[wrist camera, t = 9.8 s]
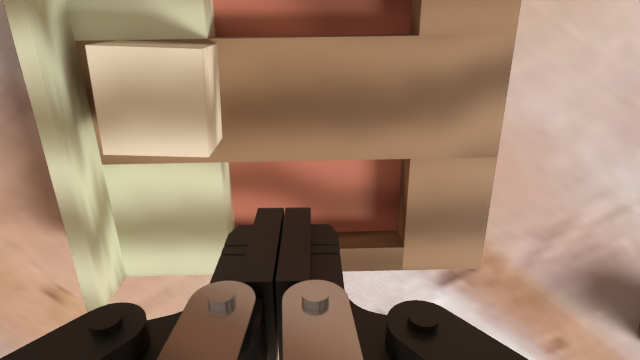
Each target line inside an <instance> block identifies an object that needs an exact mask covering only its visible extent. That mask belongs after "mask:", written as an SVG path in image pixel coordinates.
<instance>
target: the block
mask: <svg viewBox="0 0 640 360" xmlns="http://www.w3.org/2000/svg"><path fill="white" fill-rule="evenodd" d="M85 48H86V54H87V60H88V66H89V72H90V78H91V84H92V90H93V96H94V102H95V108H96V114H97V120H98V126H99V132H100V138H101V144H102V150H103V155H131V156H171V157H209V156H210V155H211V154H212V152H213V151H214V149H215V148H216V146H217V145H218V144H219V142H220V141H221V139H222V123H221V105H220V87H219V68H218V50H217V44H213V43H183V42H153V41H123V40H117V41H110V42H103V43H96V44H89V45H85Z"/></svg>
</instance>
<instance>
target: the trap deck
mask: <svg viewBox="0 0 640 360" xmlns="http://www.w3.org/2000/svg"><path fill="white" fill-rule="evenodd" d="M3 3H4V7H5V11H6V14H7V18H8V22H9V25H10V29H11V33H12V36H13V40H14V44H15V47H16V51H17V55H18V59H19V62H20V66H21V70H22V73H23V77H24V81H25V84H26V88H27V92H28V95H29V99H30V103H31V106H32V110H33V114H34V118H35V121H36V125H37V129H38V132H39V136H40V140H41V143H42V147H43V151H44V154H45V158H46V162H47V166H48V169H49V173H50V177H51V180H52V184H53V188H54V191H55V195H56V199H57V202H58V206H59V210H60V213H61V217H62V221H63V225H64V228H65V232H66V236H67V239H68V243H69V247H70V250H71V254H72V258H73V261H74V265H75V269H76V273H77V276H78V280H79V284H80V287H81V291H82V295H83V298H84V302H85V306H86V309H87V312H89V311H92V310H94V309H96V308H98V307H101V306H104V305H107V304H108V302H109V301H110V299H111V298H112V296H113V295H114V294H115V292H116V291H117V289H118V288H119V286H120V285H121V284H122V282H123V281H124V279H125V278H126V276H163V275H208V274H214V271H215V268H216V266H217V263H218V260H219V258H220V256H221V252H222V250H223V247H224V244H225V242H226V239H227V236H228V234H229V233H230V232H231V231H233V230H234V229H235V228H236V227H237V226H238V225H253V224H254V220H255V217H256V213H257V210H258V208H284V214H285V208H290V207H311V224H330V225H331V226H332V227H333V228H334V230H335V231H336V232H337V233H338V239H339V248H340V256H341V265H342V271H384V270H428V269H472V268H480V266H481V260H482V253H483V247H484V240H485V234H486V227H487V221H488V214H489V208H490V201H491V195H492V188H493V181H494V175H495V168H496V162H497V155H498V149H499V142H500V136H501V129H502V123H503V116H504V110H505V103H506V97H507V90H508V84H509V77H510V71H511V64H512V58H513V51H514V45H515V38H516V31H517V25H518V18H519V12H520V5H521V0H3ZM117 40H123V41H153V42H183V43H213V44H217V50H218V68H219V87H220V105H221V123H222V139H221V141H220V142H219V144H218V145H217V146H216V148H215V149H214V151H213V152H212V154H211V155H210V156H209V157H171V156H131V155H103V150H102V144H101V138H100V132H99V126H98V120H97V114H96V108H95V102H94V96H93V90H92V84H91V78H90V72H89V66H88V60H87V54H86V48H85V45H89V44H96V43H103V42H110V41H117Z"/></svg>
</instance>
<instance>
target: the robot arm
mask: <svg viewBox="0 0 640 360" xmlns="http://www.w3.org/2000/svg"><path fill="white" fill-rule="evenodd" d="M278 348H279V360H528V359H527V358H525V357H523V356H522V355H520V354H518V353H517V352H515V351H513V350H512V349H510V348H509V347H507V346H505V345H504V344H502V343H500V342H499V341H497V340H495V339H494V338H492V337H490V336H489V335H487V334H486V333H484V332H482V331H481V330H479V329H477V328H476V327H474V326H472V325H471V324H469V323H468V322H466V321H464V320H463V319H461V318H459V317H458V316H456V315H454V314H453V313H451V312H449V311H448V310H446V309H445V308H443V307H441V306H439V305H436V304H434V303H430V302H426V301H418V300H412V301H405V302H402V303H399V304H397V305H395V306H394V307H393V308H391V310H390V311H389V313H388V315H383V314H378V313H374V312H370V311H367V310H365V309H362V308H360V307H358V306H357V305H355V304H354V303H353V302H352V301H351V300H350V299H349V298H348V296H347V293H346V292H345V290H344V283H343V274H342V265H341V256H340V248H339V239H338V233H337V232H336V231H335V230H334V228H333V227H332V226H331V225H330V224H311V207H290V208H285V214H284V208H258V210H257V213H256V217H255V220H254V224H253V225H238V226H237V227H236V228H235V229H234V230H233V231H231V232H230V233H229V234H228V236H227V239H226V242H225V244H224V247H223V250H222V252H221V256H220V258H219V260H218V263H217V266H216V268H215V271H214V274H213V276H212V279H211V282H210V284H208V285H206V286H204V287H202V288H200V289H199V290H197V291H196V292H195V293H194V294H193V295H192V296H191V298H190V299H189V301H188V303H187V305H186V306H185V308H184V310H183V311H182V312H179V313H176V314H173V315H169V316H164V317H160V318H156V319H151V320H147V319H146V314H145V312H144V310H143V309H142V308H141V307H140V306H138V305H135V304H132V303H113V304H108V305H104V306H101V307H98V308H96V309H94V310H92V311H89V312H88V313H86V314H84V315H82V316H80V317H78V318H76V319H74V320H72V321H71V322H69V323H67V324H65V325H63V326H61V327H59V328H57V329H55V330H53V331H52V332H50V333H48V334H46V335H44V336H42V337H40V338H38V339H36V340H35V341H33V342H31V343H29V344H27V345H25V346H23V347H21V348H19V349H18V350H16V351H14V352H12V353H10V354H8V355H6V356H4V357H2V358H0V360H277V358H278Z"/></svg>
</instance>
